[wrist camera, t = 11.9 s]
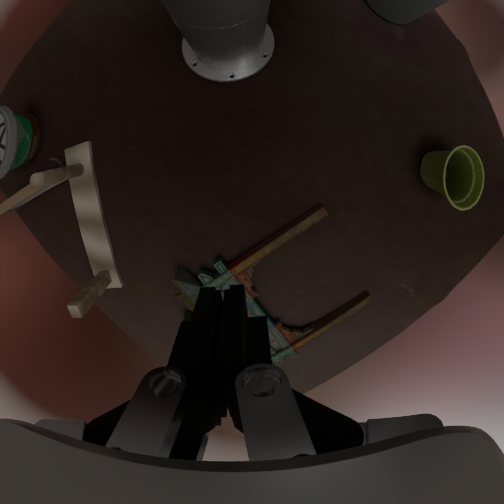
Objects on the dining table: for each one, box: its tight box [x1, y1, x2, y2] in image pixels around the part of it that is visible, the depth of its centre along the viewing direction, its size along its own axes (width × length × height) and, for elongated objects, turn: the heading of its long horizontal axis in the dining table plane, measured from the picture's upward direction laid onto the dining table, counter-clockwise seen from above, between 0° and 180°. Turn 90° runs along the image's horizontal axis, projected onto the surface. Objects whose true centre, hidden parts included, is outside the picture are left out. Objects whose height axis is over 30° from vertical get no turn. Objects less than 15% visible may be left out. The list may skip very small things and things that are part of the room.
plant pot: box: [420, 145, 484, 210], centre depth 32 cm, size 9×9×9 cm
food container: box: [0, 106, 43, 179], centre depth 28 cm, size 12×6×10 cm, turn 163°
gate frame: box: [30, 141, 123, 318], centre depth 33 cm, size 24×5×12 cm, turn 6°
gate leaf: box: [0, 180, 65, 216], centre depth 31 cm, size 15×2×7 cm, turn 103°
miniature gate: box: [171, 205, 373, 366], centre depth 43 cm, size 27×6×30 cm
